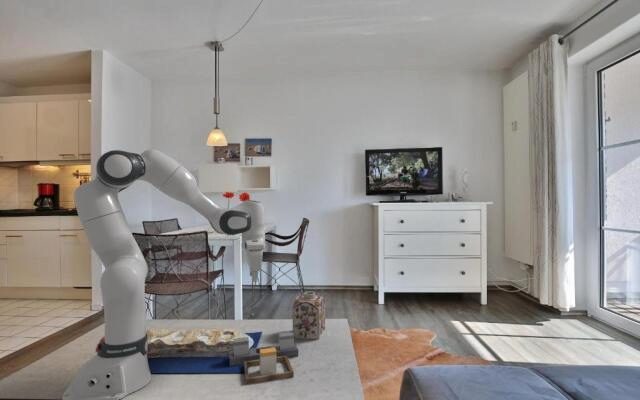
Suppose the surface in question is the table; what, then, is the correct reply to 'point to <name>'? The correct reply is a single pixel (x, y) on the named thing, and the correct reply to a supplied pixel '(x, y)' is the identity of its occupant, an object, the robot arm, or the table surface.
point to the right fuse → (286, 341)
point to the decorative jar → (309, 316)
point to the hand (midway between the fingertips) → (253, 278)
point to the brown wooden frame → (271, 376)
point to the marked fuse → (267, 361)
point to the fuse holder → (255, 354)
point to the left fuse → (241, 346)
